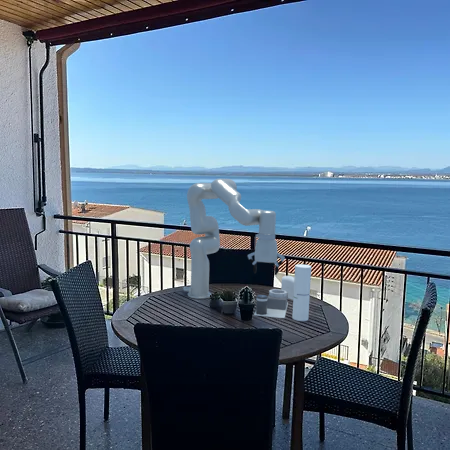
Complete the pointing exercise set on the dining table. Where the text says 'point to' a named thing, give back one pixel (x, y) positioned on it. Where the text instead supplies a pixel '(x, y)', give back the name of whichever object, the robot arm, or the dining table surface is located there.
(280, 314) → the board
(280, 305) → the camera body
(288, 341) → the dining table surface
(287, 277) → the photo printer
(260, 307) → the lens
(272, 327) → the dining table surface
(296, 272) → the cylindrical container
